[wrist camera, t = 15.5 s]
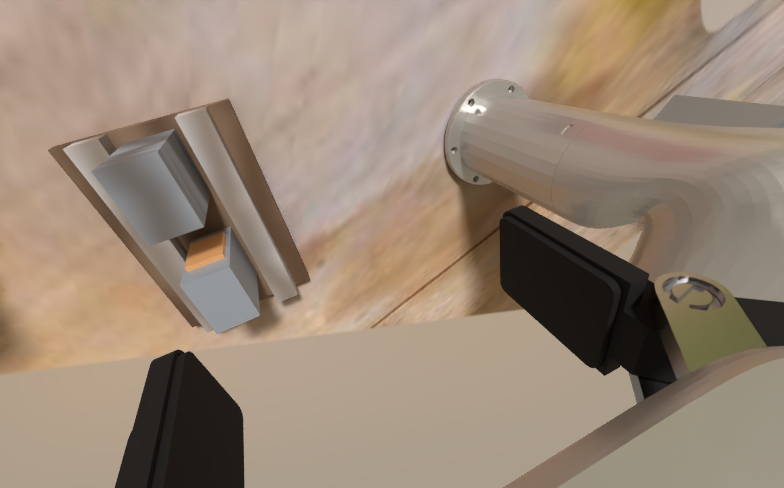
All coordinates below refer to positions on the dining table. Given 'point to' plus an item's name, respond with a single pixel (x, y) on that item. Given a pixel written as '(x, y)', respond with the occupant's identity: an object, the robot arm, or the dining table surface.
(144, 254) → the rail
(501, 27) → the dining table surface
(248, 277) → the block
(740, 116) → the perfume bottle
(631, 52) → the dining table surface
